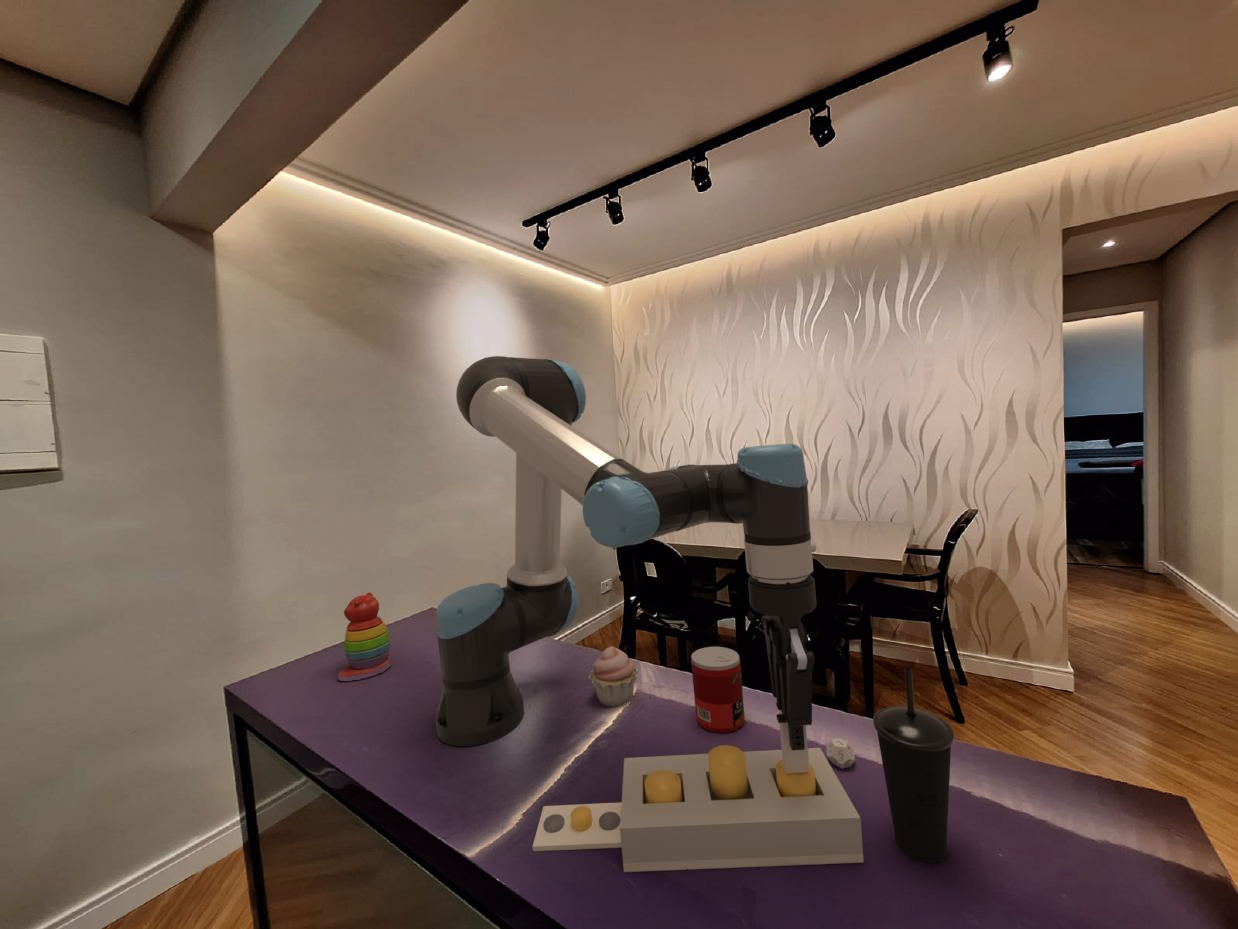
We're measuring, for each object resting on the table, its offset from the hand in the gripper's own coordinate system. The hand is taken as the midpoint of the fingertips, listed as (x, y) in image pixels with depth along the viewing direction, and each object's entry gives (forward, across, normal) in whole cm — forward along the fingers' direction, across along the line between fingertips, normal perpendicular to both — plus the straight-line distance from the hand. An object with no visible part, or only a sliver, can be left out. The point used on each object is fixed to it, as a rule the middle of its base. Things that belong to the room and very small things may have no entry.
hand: (795, 768), depth 58 cm
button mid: (+2, 0, +8) cm, 8 cm away
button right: (+4, 0, 0) cm, 4 cm away
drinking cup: (+7, -4, -12) cm, 14 cm away
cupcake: (+7, +31, +24) cm, 40 cm away
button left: (+5, 0, +16) cm, 17 cm away
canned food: (+7, +22, +6) cm, 24 cm away
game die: (+7, +10, -9) cm, 15 cm away
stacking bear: (+6, +50, +83) cm, 97 cm away
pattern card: (+7, +1, +27) cm, 27 cm away
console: (+7, 0, +8) cm, 10 cm away
